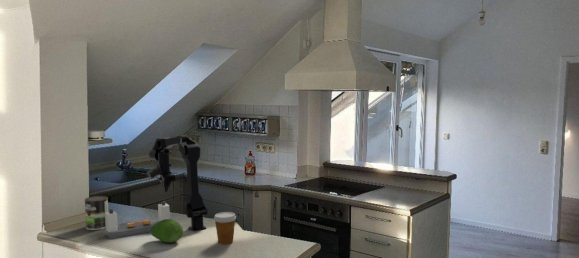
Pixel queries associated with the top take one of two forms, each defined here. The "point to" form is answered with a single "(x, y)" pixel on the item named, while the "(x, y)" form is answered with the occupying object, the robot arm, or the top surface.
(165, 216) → the plug
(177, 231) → the fruit
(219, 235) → the disposable coffee cup
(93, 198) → the coffee can
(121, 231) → the grey board
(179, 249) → the top surface
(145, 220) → the orange dumbbell
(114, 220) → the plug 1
